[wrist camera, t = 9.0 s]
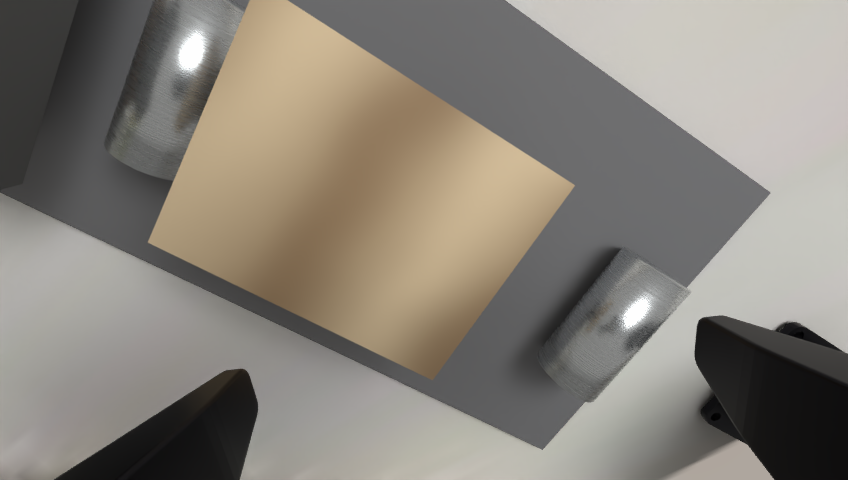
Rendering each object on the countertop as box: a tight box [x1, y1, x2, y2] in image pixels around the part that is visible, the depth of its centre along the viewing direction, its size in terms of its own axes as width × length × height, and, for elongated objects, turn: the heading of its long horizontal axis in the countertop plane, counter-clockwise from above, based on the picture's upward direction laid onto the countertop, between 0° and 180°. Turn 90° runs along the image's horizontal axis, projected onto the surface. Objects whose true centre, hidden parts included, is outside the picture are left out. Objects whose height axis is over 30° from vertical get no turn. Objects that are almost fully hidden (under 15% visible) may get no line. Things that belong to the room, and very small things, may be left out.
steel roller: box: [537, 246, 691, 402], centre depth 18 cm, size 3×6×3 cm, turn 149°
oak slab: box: [148, 0, 575, 380], centre depth 14 cm, size 10×8×2 cm
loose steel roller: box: [104, 0, 246, 181], centre depth 15 cm, size 3×6×3 cm, turn 149°
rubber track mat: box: [0, 0, 770, 450], centre depth 17 cm, size 30×16×1 cm, turn 59°
